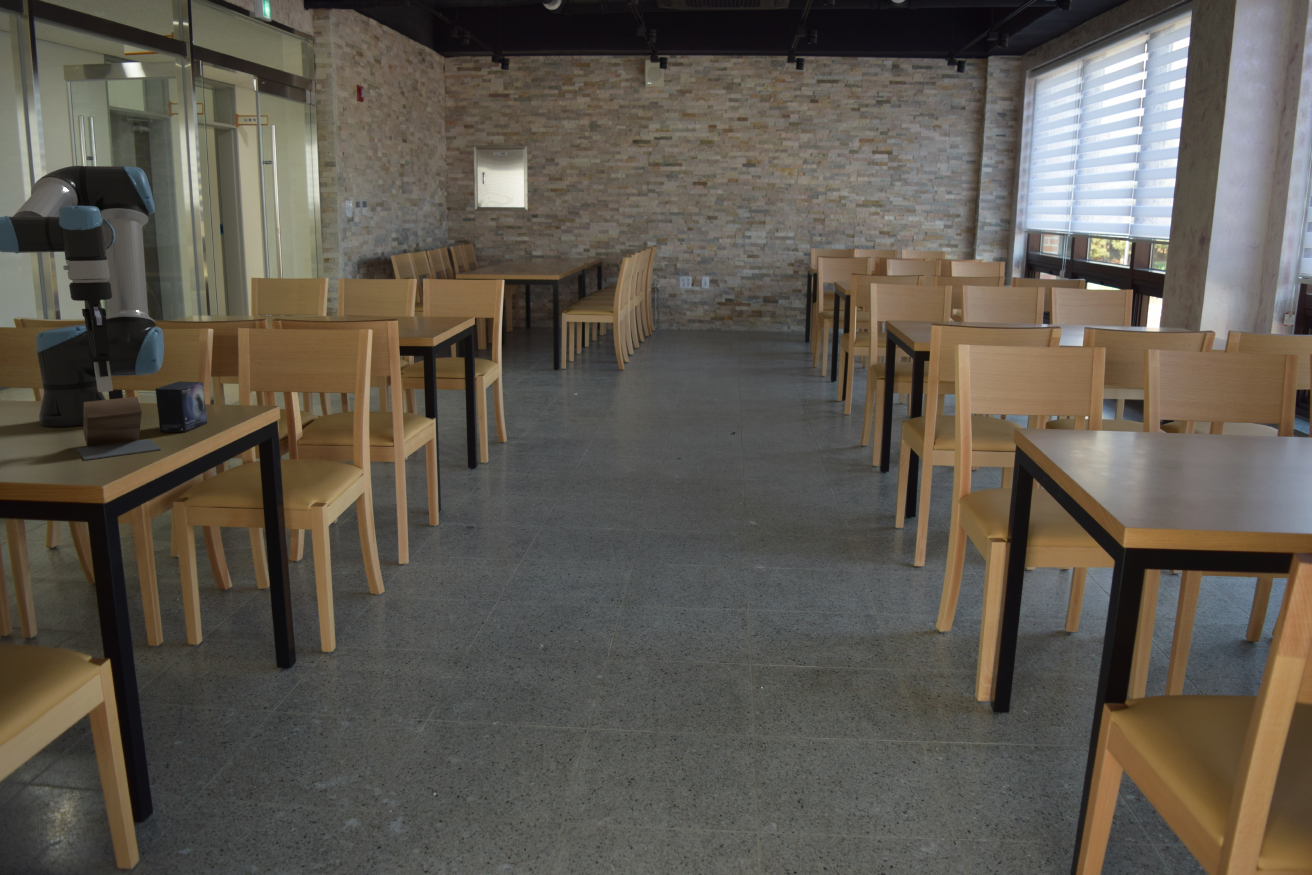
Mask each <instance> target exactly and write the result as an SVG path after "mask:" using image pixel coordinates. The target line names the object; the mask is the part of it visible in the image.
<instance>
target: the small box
mask: <svg viewBox="0 0 1312 875" xmlns="http://www.w3.org/2000/svg"><path fill="white" fill-rule="evenodd" d="M154 390H155V397H156V398H155V399H156V406H157V416H158V424H159V433H186V432H189V431H191V430H194V429H197V428H199V427H202V426H204V425H207V424H208V416H207V407H206V400H205V397H206V396H205V391H204V390H205V389H204V382H201V381H181V380H179V381H176V382H173V383H169V384H167V385H163V386H159V387H156V388H155V389H154Z"/></svg>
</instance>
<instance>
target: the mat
mask: <svg viewBox="0 0 1312 875" xmlns="http://www.w3.org/2000/svg"><path fill="white" fill-rule="evenodd" d="M76 451H77V452H78V453H79V455H80V456H81V457H82V459H83V460H84V461H86V462H87V461H93V460H99V459H105V458H113V457H120V456H127V455H135V454H144V453H150V452H157V451H158V452H159V451H161V447H159V446H158V445H157V444H156V443H155V442H154V441H153V440H152V439H150V438H145V439H139V440H137V441H129V442H122V443H114V444H106V445H99V446H91V447H87V446H85V447H83V446H82V447H78V448H76Z"/></svg>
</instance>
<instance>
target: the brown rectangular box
mask: <svg viewBox="0 0 1312 875" xmlns="http://www.w3.org/2000/svg"><path fill="white" fill-rule="evenodd" d="M142 413H143V412H142V409H141V406H140V402H139V397H138V396H131V397H130V396H129V397H120V398H110V399H106V400H100V401H90V402H84V414H83V425H82V427H83V437H84V440H85V441H84V442H85V444H86V447H91V446H99V445H106V444H114V443H122V442H129V441H137V440H140V434H141V433H140V432H141V422H142Z"/></svg>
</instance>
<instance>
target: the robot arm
mask: <svg viewBox="0 0 1312 875" xmlns="http://www.w3.org/2000/svg"><path fill="white" fill-rule="evenodd" d="M149 182H150V181H149V180H148V176H147V175H146V172H145V171H144V169H142V168H141V167H138V166H136V167H135V166H125V165H122V166H119V165H118V166H115V165H114V166H111V165H110V166H109V165H107V166H106V165H105V166H104V165H102V166H101V165H98V166H97V165H71V166H66V167H62V168H59V169H55V170H53V171H50V172H49V173H47V174H44V175H43V176H41V177H40V178H39V179H38V180H36V182H34V184H33V185H32V186H31V191H30V197H28V198H27V200H26V201H25V202H24V203H23V205H22V206H20V208H18V210H17V211H16V213H14V215H13V216H8V215H5V216H0V252H1V253H15V254H19V253H20V254H22V253H23V254H25V253H26V254H28V253H29V254H30V253H64V260H65V263H66V264H65V265H63V266H62V267H63V270H64V271H67V277H68V280H69V281H72V282H69V284H68V286H69V292H70V293H69V294H70V299H71V300H72V301H75V302H82V301H83V302H84V308H82V309H81V313H82V316H83V318H84V324H83V323H82V324H81V323H80V324H73V325H68V326H61V327H56V328H51V329H47V330H43V331H40V332H39V333H37V335H36V337H35V342H36V343H35V344H36V353H35V354H37V359H38V365H39V370H40V371H39V372H40V377H41V383H42V389H43V395H42V396H43V397H42V401H41V404H40V409H39V415H38V419H39V424H40V425H41V426H43V427H49V428H50V427H54V428H58V427H59V428H60V427H64V428H65V427H75V426H83V414H84V402H90V401H100V400H107V399H106V397H105V395H104V393H105V392H113V391H114V386H113V382H112V379H113V378H112V377H128V376H138V377H140V376H142V375H152V374H156V373H157V372H159V371H160V370H161V369H162V366H163V362H164V354H165V342H164V341H165V340H164V339H165V338H164V337H165V336H164V332H163V329H162V328H161V327H158V326H156V324H157V323H156V321H155V320H154V319H153V318H152V317H150V315H149V309H148V308H149V307H148V294H147V291H148V290H147V279H146V278H147V277H146V266H145V265H146V263H145V249H144V234H143V227H144V226H146V224H148V222H149V215H153V214H155V213H156V208H155V207H156V206H155V202H154V197H153V192H152V189H151V186H150V183H149ZM106 300H107V307H108V308H107V310H108V315H107V310H106V308H104V307H103V306H102V303H101V301H106Z"/></svg>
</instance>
